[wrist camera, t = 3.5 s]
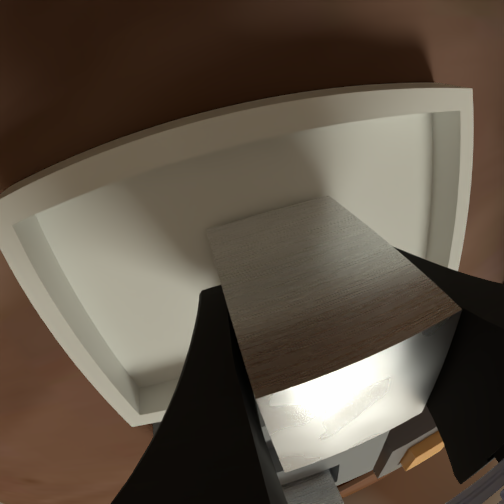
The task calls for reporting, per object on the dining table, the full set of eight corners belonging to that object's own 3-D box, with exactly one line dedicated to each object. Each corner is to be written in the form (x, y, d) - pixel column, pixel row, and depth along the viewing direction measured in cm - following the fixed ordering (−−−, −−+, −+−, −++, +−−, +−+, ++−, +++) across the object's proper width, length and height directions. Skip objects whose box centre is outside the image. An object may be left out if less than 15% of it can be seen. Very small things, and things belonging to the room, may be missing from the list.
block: (320, 450, 21) (348, 512, 16) (321, 465, 23) (344, 519, 18) (271, 467, 20) (294, 531, 15) (277, 479, 22) (298, 535, 17)
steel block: (328, 195, 10) (461, 309, 5) (335, 291, 12) (421, 412, 7) (206, 229, 9) (256, 398, 4) (235, 324, 12) (284, 472, 6)
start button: (438, 412, 24) (453, 434, 21) (427, 430, 26) (440, 450, 23) (401, 434, 23) (415, 458, 20) (393, 450, 25) (405, 471, 23)
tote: (435, 82, 9) (472, 88, 8) (424, 293, 15) (446, 316, 13) (10, 186, 8) (-19, 209, 6) (131, 392, 13) (131, 426, 12)
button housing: (455, 380, 24) (472, 402, 21) (433, 421, 28) (445, 440, 26) (377, 425, 23) (392, 451, 20) (366, 457, 27) (377, 478, 25)
